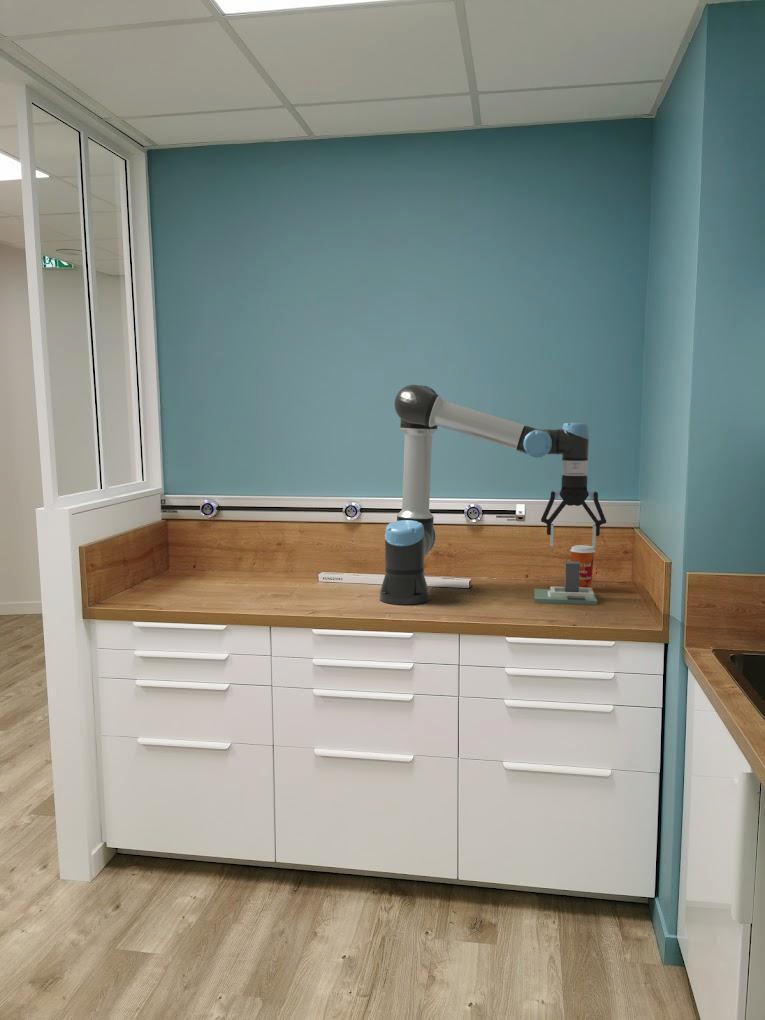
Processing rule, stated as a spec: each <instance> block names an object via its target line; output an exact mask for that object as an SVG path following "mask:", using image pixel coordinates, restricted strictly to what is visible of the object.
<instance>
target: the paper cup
mask: <svg viewBox="0 0 765 1020" xmlns="http://www.w3.org/2000/svg"><path fill="white" fill-rule="evenodd" d="M569 552H570V553H571V554H570V559H571V560H570V561H578V562H579V564H580V569H579V587H582V588H592V580H593V570H594V567H593V566H594V557H595V553H596V552H597V551H596V550H595V548H594V547H592V545H585V544H584V545H583V544H582V545H581V544H579V545H578V544H577V545H573V546H571V549H570V550H569Z"/></svg>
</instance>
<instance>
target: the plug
mask: <svg viewBox="0 0 765 1020" xmlns="http://www.w3.org/2000/svg"><path fill="white" fill-rule="evenodd" d="M579 569H580V564H579V562H578V561H571V560H569V561H568V560H567V561H566V560H565V564H564V587H565V592H579Z"/></svg>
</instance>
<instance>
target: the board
mask: <svg viewBox="0 0 765 1020" xmlns="http://www.w3.org/2000/svg"><path fill="white" fill-rule="evenodd" d="M533 591H534V593H533V594H534V596H533V597H534V603H535V604H536V603H537V604H538V603H539V604H564V605H566V604H567V605H588V606H589V605H593V606H597V605H598V600H597V597H596V594H595V593H594V592H595V591H594V590H593V588H592V587H591V588H582V587H579V592H565V586H550V587H549V588H548V589H547V588H534V590H533Z"/></svg>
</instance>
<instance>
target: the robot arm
mask: <svg viewBox="0 0 765 1020" xmlns="http://www.w3.org/2000/svg"><path fill="white" fill-rule="evenodd" d="M394 409H395V412H396V415H397V416H398V417H399V418H400V426H399V429H400V430H401V431H402V432H403V434H404V444H403V445H404V446H403V447H404V451H403V479H402V505H401V506H402V507H401V510H400V511H399V513H397V515H396V521H392V522H390V523H388V524H387V525H386V526H385V533H384V541H385V542H384V544H385V545H384V548H385V549H384V550H385V552H384V553H385V556H384V557H385V558H384V559H385V560H384V561H385V564H384V565H385V569H384V571H385V573H384V577H383V581H382V584H381V587H380V589H379V600H380V601H381V602H383V603H387V604H391V605H392V604H393V605H418V604H424V603H427V602H428V601H430V590H429V587H428V583H427V581H426V577H425V575H424V574H425V572H424V571H425V569H424V568H425V565H424V564H425V563H424V561H425V560H424V559H425V557H424V556H425V555H427V554H428V553H429V552H430V551H432V549H433V547H434V545H435V543H436V531H435V528H434V520H435V519H434V517H435V516H434V515H433V513H432V512H431V511H430V497H431V495H430V493H431V475H432V473H431V472H432V451H433V450H432V446H433V435H434V434H435V433H436V432H437V431H438V427H441V428H444V429H447V430H449V431H453V432H456V433H460V434H464V435H467V436H470V437H473V438H477V439H479V440H483V441H486V442H489V443H492V444H496V445H499V446H502V447H504V448H509V449H512V450H515V451H518V452H520V453H523V454H524V455H529V456H530V457H534V458H543V457H544V456H546V455H561V473H562V474H563V475H562V476H561V489H560V490H559V491H555V490H551V491H550V498H549V500H548V503H547V505H546V507H545V510H544V511H543V514H542V516H541V519H540V521H541V522H542V523H544V524H546V534H547V535H546V536H550V540H549V541H550V543H549V544H550V547H554V531H555V530H554V523H553V522H554V521H555V519H556V518H557V517H558V516H559V515H560V513H561V512H562V511H563V509H564V508H565V507H566V506H568V507H569V506H570V507H571V506H576V507H579V506H581V505H582V507H583V508H584V510H585V511H586V513H587V514H588V515H589V517H590V518H591V519H592V521H593V522H594V524H592V532H591V534H592V538H591V539H592V542H591V546H592V547H593V548H594V549H595V548H596V541H597V537H600V532H601V529H600V528H601V525H604V524H607V519H606V517H605V514H604V511H603V510H602V507H601V504H600V502H599V493H598V492H597V491H595V490H594V491H589V490H588V476H587V475H586V474H588V469H589V468H588V465H589V445H590V444H589V441H590V437H589V425H588V424H587V423H585V422H565V423H563V425H562V428H560V429H551V428H549V429H545V428H543V429H542V428H540V429H539V428H535V427H531V426H529V425H528V426H527V425H525V424H521V423H518V422H516V421H512V420H508V419H505V418H501V417H499V416H495V415H492V414H488V413H485V412H482V411H479V410H476V409H473V408H470V407H466V406H463V405H459V404H456V403H452V402H450V401H446V400H444V399H443V397H442V396H441V395H440V394H438V393H437V391H435V390H434V389H433V388H431V387H429V386H427V385H423V384H421V385H419V384H409V385H406V386H403V387H402V388H401V389H400V390H399V391H397V393H396V395H395V399H394ZM559 496H560V498H561V499H562V501H561V502H560V503H559V504H558V506H557V507H556V509H555V510H554V511H553V513H551V515H550V517H549V518H548V515H549V513H550V511H551V510H552V507H553V505H554V502H555V499H557V498H558V497H559ZM588 497H590V499H591V500H593V503H594V505H595V508H596V510H597V513H598V516H599V520H598V518H597V517H596V515H595V514H594V513H593V511H592V509H590V507H589V505H588V503H587V502H585V501H586V500H587V499H588Z"/></svg>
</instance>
